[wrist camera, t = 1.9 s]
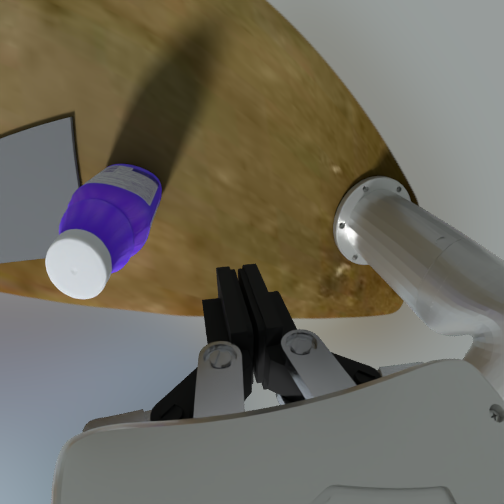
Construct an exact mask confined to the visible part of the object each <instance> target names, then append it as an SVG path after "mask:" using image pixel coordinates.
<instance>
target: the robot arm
mask: <svg viewBox="0 0 504 504" xmlns="http://www.w3.org/2000/svg"><path fill="white" fill-rule="evenodd" d="M333 234H334V239H335V243H336V245H337V247H338V249H339V250H340V251H341V253H342V254H343V255H344V256H345V257H346V258H347V259H348V260H350V261H351V262H354V263H357V264H362V265H368V264H369V265H370V266H371V267H372V268H373V269H374V270H375V271H376V272H377V273H378V274H379V275H380V276H381V277H382V278H383V279H384V280H385V281H386V282H387V283H388V284H389V285H390V286H391V288H392V289H393V290H394V291H395V292H396V293H397V294H398V295H399V296H400V297H401V298H402V299H403V300H404V301H405V302H406V304H407V305H408V306H409V307H410V308H411V309H412V310H413V311H414V312H415V313H416V314H417V316H418V317H419V318H420V319H421V320H422V321H423V322H424V323H425V324H426V325H427V326H428V327H429V328H430V329H431V330H433V331H435V332H436V333H439V334H442V335H447V336H459V335H471V336H472V337H473V343H472V346H471V347H470V349H469V350H468V352H467V353H466V355H465V357H464V358H463V360H460V359H441V360H434V361H430V362H426V363H423V362H416V363H409V364H401V365H393V366H385V367H380V368H379V370H376V369H374V368H372V367H370V366H368V365H365V364H362V363H359V362H356V361H353V360H351V359H348V358H345V357H342V356H340V355H337V354H334V353H332V352H330V351H329V349H328V348H327V347H326V346H325V344H324V343H323V342H322V340H321V339H320V338H319V337H318V336H317V335H316V334H315V333H313V332H311V331H308V330H300V329H299V330H297V328H296V326H295V324H294V322H293V320H292V318H291V316H290V314H289V312H288V310H287V308H286V306H285V304H284V301H283V299H282V297H281V295H280V293H279V292H278V291H274V292H268V290H267V288H266V285H265V283H264V281H263V279H262V276H261V274H260V272H259V269H258V267H257V265H256V264H248V265H243V267H242V269H238V278H237V275H236V272H235V269H233V270H230V267H219V268H216V272H217V286H218V298H216V299H207V300H202V303H203V311H204V319H205V327H206V335H207V343H208V345H206V346H205V347H203V349H202V350H201V351H200V354H199V358H198V367H197V368H196V369H195V370H194V371H193V372H191V374H189V375H188V376H187V377H186V378H185V379H184V380H183V381H182V382H181V383H180V384H178V385H177V386H176V387H175V388H174V389H173V390H172V391H171V392H170V393H168V394H167V395H166V396H165V397H164V398H163V399H162V400H160V401H159V402H158V403H157V404H156V405H155V406H154V408H153V409H152V410H149V411H145V412H144V411H143V409H142V410H138V411H133V412H128V413H124V414H119V415H114V416H109V417H104V418H98V419H94V420H92V421H89V422H88V423H87V424H86V425H85V427H84V429H83V433H80V434H78V435H76V436H74V437H73V438H71V439H70V440H68V441H67V442H66V443H65V444H64V446H63V447H62V449H61V451H60V453H59V456H58V458H57V462H56V466H55V471H54V477H53V484H52V497H51V498H52V499H51V504H504V261H503V260H502V259H500V258H499V257H497V256H496V255H494V254H493V253H491V252H490V251H489V250H487V249H486V248H484V247H483V246H481V245H480V244H478V243H477V242H475V241H474V240H472V239H471V238H469V237H467V236H466V235H465V234H463V233H462V232H460V231H458V230H457V229H455V228H454V227H452V226H451V225H449V224H448V223H445V222H444V221H443V220H441V219H439V218H438V217H436V216H434V215H433V214H431V213H429V212H428V211H426V210H424V209H423V208H421V207H419V206H417V205H416V204H414V203H412V202H411V200H410V196H409V194H408V192H407V190H406V189H405V188H404V186H403V185H401V184H400V183H399V182H398V181H396V180H394V179H392V178H389V177H386V176H373V177H369V178H366V179H364V180H362V181H360V182H359V183H357V184H356V185H354V186H353V187H352V188H351V189H350V190H349V191H348V192H347V194H346V195H345V196H344V198H343V199H342V201H341V203H340V204H339V206H338V209H337V212H336V215H335V219H334V225H333ZM253 372H254V375H255V378H256V382H257V383H261V382H262V386H263V389H269V390H271V391H273V392H275V393H276V397H277V400H278V402H279V404H280V405H279V406H274V407H269V408H263V409H258V410H252V411H247V412H245V409H244V401H245V399H246V398H247V397H248V396H249V395H250V394H251V392H252V384H253Z"/></svg>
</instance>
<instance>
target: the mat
mask: <svg viewBox="0 0 504 504" xmlns="http://www.w3.org/2000/svg"><path fill="white" fill-rule="evenodd" d="M79 187H80V181H79V174H78V167H77V160H76V151H75V142H74V131H73V118H72V117H69V118H65V119H61V120H57V121H53V122H50V123H46V124H43V125H39V126H36V127H33V128H30V129H27V130H24V131H21V132H18V133H15V134H12V135H9V136H6V137H4V138H1V139H0V263H6V262H15V261H23V260H32V259H41V258H46V255H47V251H48V249H49V247H50V246H51V245H52V243H53V242H54V241H55V239H56V238H57V237H58V236H59V225H60V222H61V219H62V217H63V215H64V213H65V212H66V210H67V209H68V204H69V202H70V201H71V198H72V195H73V194H74V192H75V191H76V190H77V189H78V188H79Z"/></svg>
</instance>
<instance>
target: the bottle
mask: <svg viewBox="0 0 504 504" xmlns="http://www.w3.org/2000/svg"><path fill="white" fill-rule="evenodd" d="M161 193H162V187H161V183H160V181H159V179H158V178H157V177H156V176H155V175H154V174H153V173H151V172H150V171H148V170H146V169H143V168H141V167H138V166H134V165H130V164H114V165H111V166H108V167H107V168H105V169H104V170H103V171H101V172H100V173H99V174H97V175H96V176H94V177H93V178H92V179H90V180H89V181H88V182H86V183H85V184H84V185H82V186H81V187H79V188H78V189H77V190H76V191H75V192H74V194H73V195H72V198H71V201H70V202H69V204H68V209H67V210H66V212H65V213H64V215H63V217H62V219H61V222H60V225H59V236H58V237H57V238H56V239H55V241H54V242H53V243H52V245H51V246H50V247H49V249H48V251H47V255H46V269H47V273H48V275H49V277H50V279H51V281H52V282H53V284H54V285H55V286H56V287H57V288H58V289H59V290H60V291H62V292H63V293H65V294H66V295H68V296H71V297H73V298H77V299H89V298H92V297H95V296H97V295H98V294H99V293H100V292H101V291H102V290H103V289H104V287H105V285H106V283H107V281H108V279H109V277H110V275H111V273H114V272H117V271H118V270H120V269H122V268H123V267H124V265H125V264H126V263H127V262H128V260H129V259H130V257H131V256H133V255H135V254H136V253H137V252H138V251H139V250H140V249H141V248H142V247H143V245H144V244H145V242H146V240H147V239H148V234H149V231H150V228H151V225H152V222H153V219H154V217H155V214H156V211H157V208H158V206H159V203H160V200H161Z"/></svg>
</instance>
